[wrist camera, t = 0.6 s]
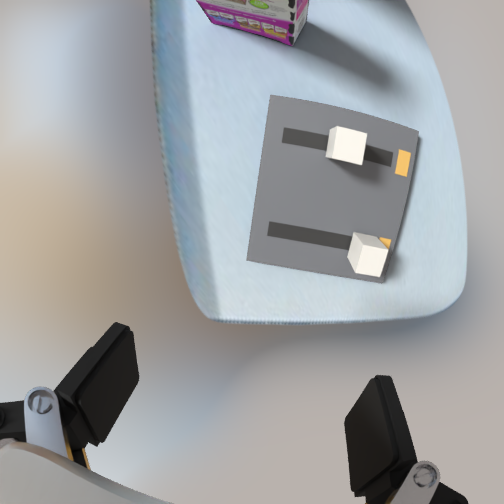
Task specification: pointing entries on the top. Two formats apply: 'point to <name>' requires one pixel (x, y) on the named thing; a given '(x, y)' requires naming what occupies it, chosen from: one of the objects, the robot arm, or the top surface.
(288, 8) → the candy bar box
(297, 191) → the panel
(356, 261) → the block
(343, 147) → the block
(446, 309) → the top surface
